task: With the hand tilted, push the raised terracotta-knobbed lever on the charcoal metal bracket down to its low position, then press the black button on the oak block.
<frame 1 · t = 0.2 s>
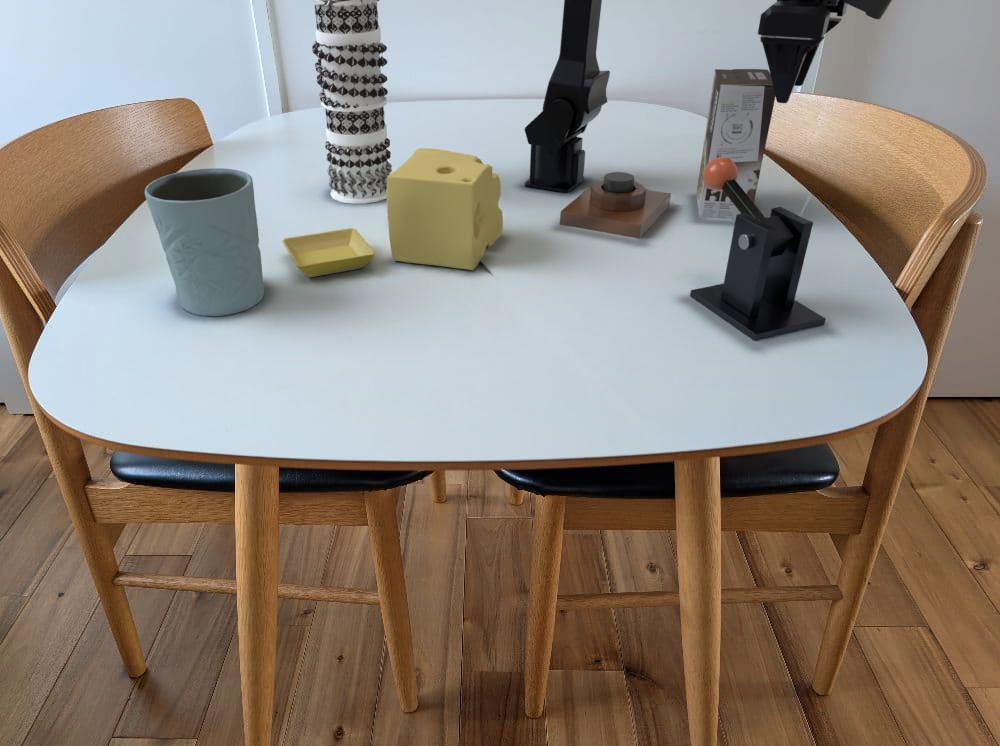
hand: (790, 93, 91), 15 cm above the table, tool pointing down, fingers open, 9 cm apart
bracket: (753, 314, 78), on the table
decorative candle: (361, 194, 109), on the table
button: (618, 183, 97), point 4 cm above the table, slide at 0.1 cm
coffee box: (721, 211, 102), on the table
button block: (615, 219, 100), on the table
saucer: (329, 264, 90), on the table
cheese: (446, 252, 92), on the table
grey green cup: (221, 298, 83), on the table
lever: (744, 204, 76), point 10 cm above the table, hinge at 22.0°
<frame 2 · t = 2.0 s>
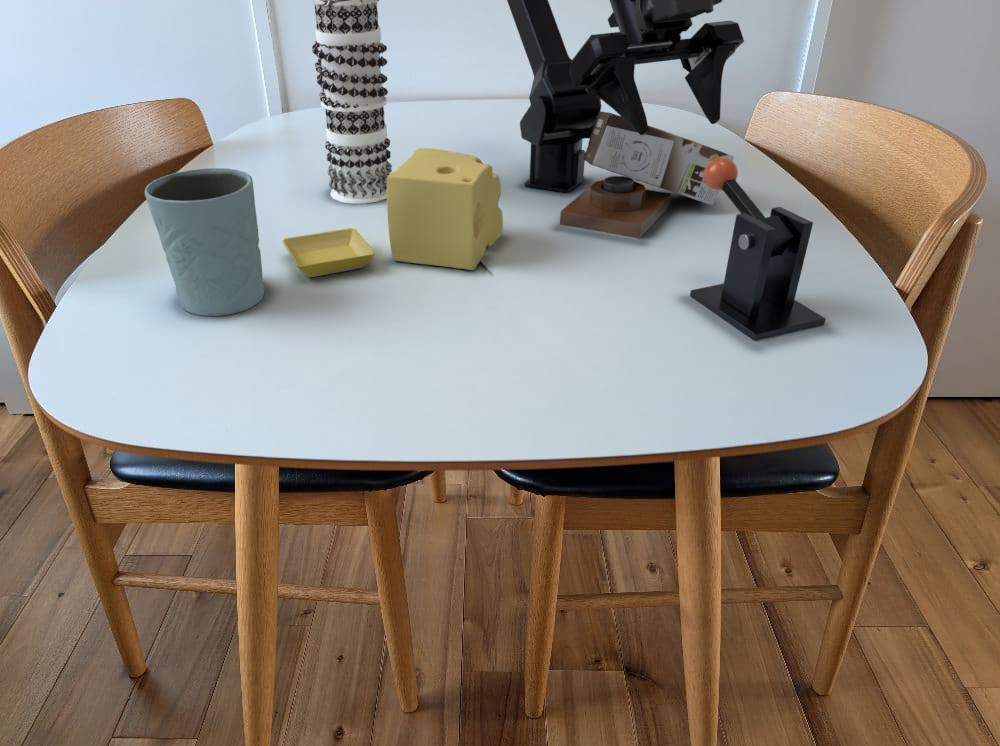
hand: (681, 127, 85), 13 cm above the table, tool tilted 40°, fingers open, 9 cm apart
button: (618, 187, 97), point 4 cm above the table, slide at -0.4 cm, touching coffee box
coffee box: (715, 177, 101), point 4 cm above the table, touching button
everything else where it was.
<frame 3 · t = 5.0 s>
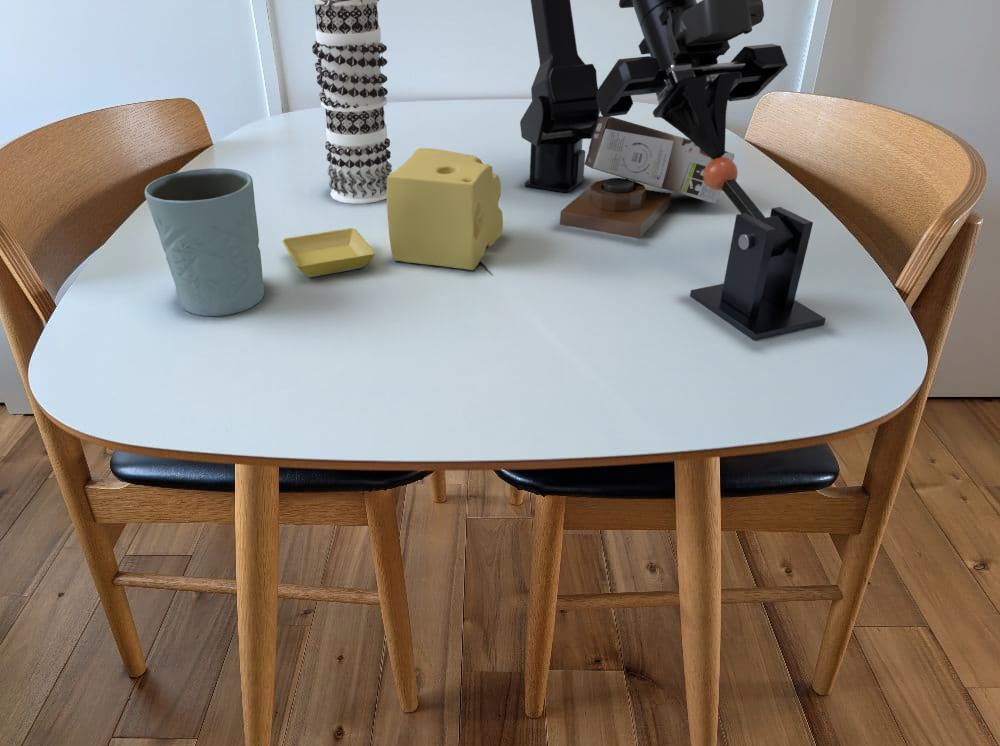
hand: (718, 156, 78), 13 cm above the table, tool tilted 45°, fingers closed, pressing on lever
coffee box: (717, 176, 101), point 4 cm above the table, touching arm, button, button block
lever: (743, 204, 76), point 10 cm above the table, hinge at 21.9°, touching gripper
everything else where it was.
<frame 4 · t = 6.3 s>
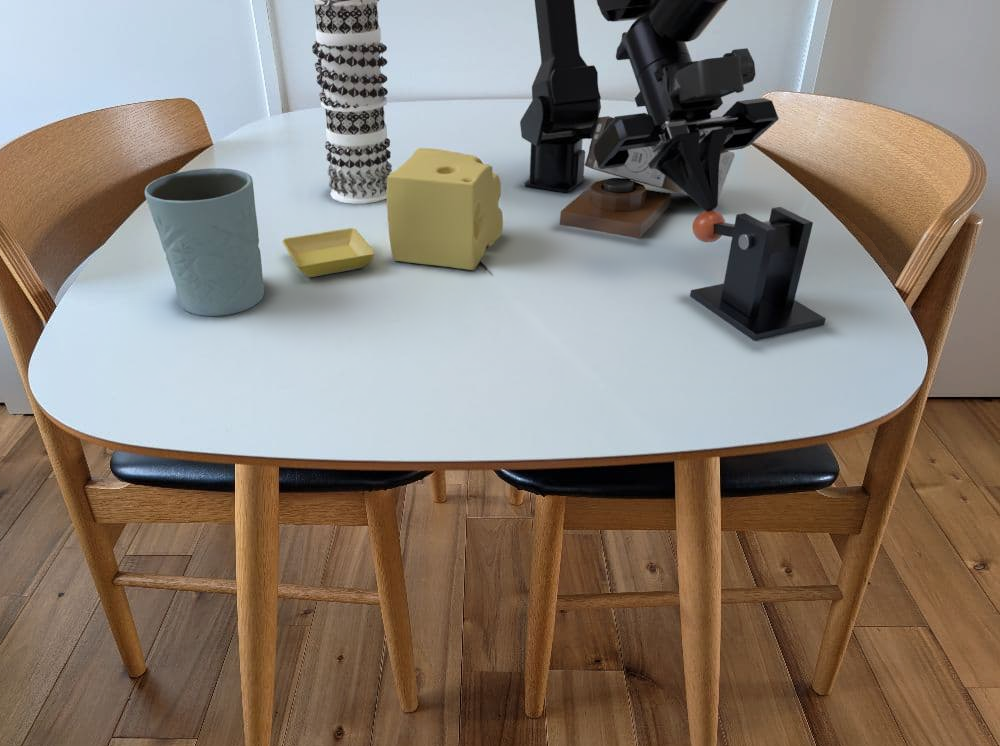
hand: (711, 208, 81), 8 cm above the table, tool tilted 45°, fingers closed, pressing on lever
coffee box: (718, 175, 101), point 4 cm above the table, touching arm, button
lever: (737, 231, 78), point 7 cm above the table, hinge at -13.6°, touching gripper
everything else where it was.
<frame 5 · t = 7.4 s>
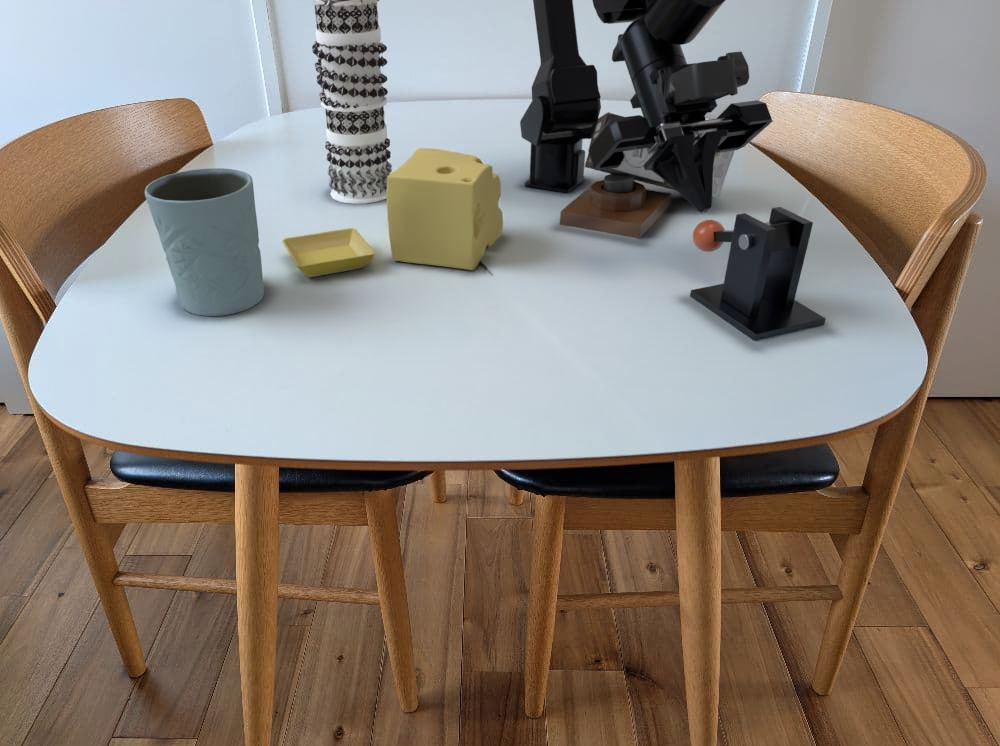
hand: (706, 210, 82), 7 cm above the table, tool tilted 45°, fingers closed
button: (618, 185, 97), point 4 cm above the table, slide at -0.1 cm, touching coffee box
coffee box: (718, 173, 101), point 4 cm above the table, touching button
lever: (737, 236, 78), point 6 cm above the table, hinge at -19.6°
everything else where it was.
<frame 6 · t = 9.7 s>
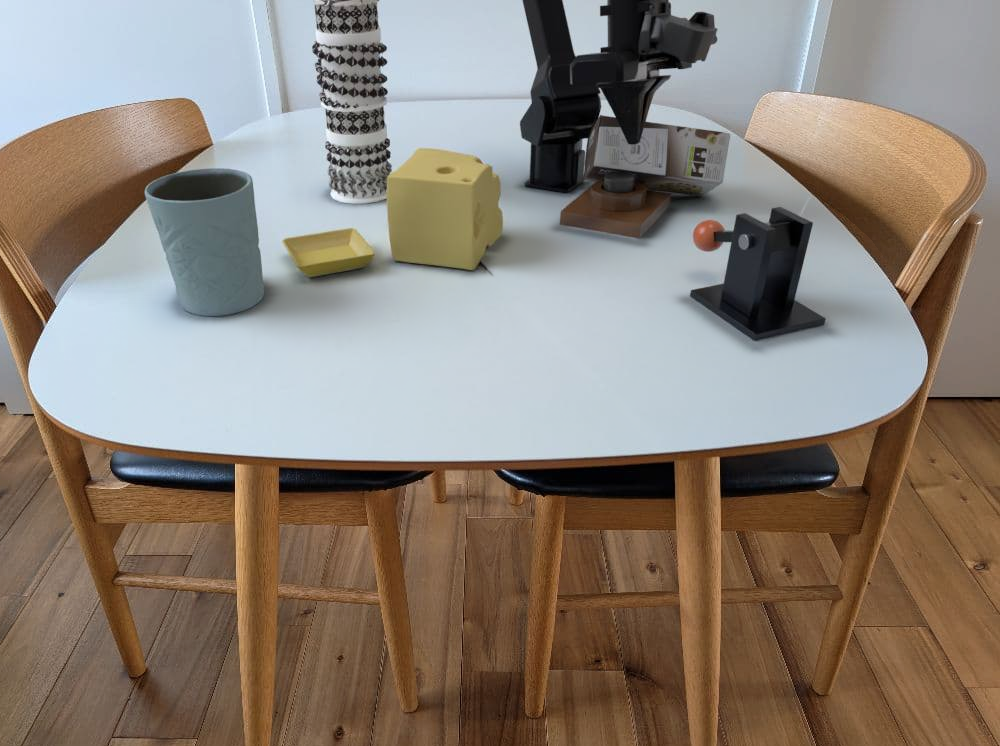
hand: (633, 144, 92), 10 cm above the table, tool pointing down, fingers closed
coffee box: (717, 166, 102), point 5 cm above the table, touching button, button block
everything else where it was.
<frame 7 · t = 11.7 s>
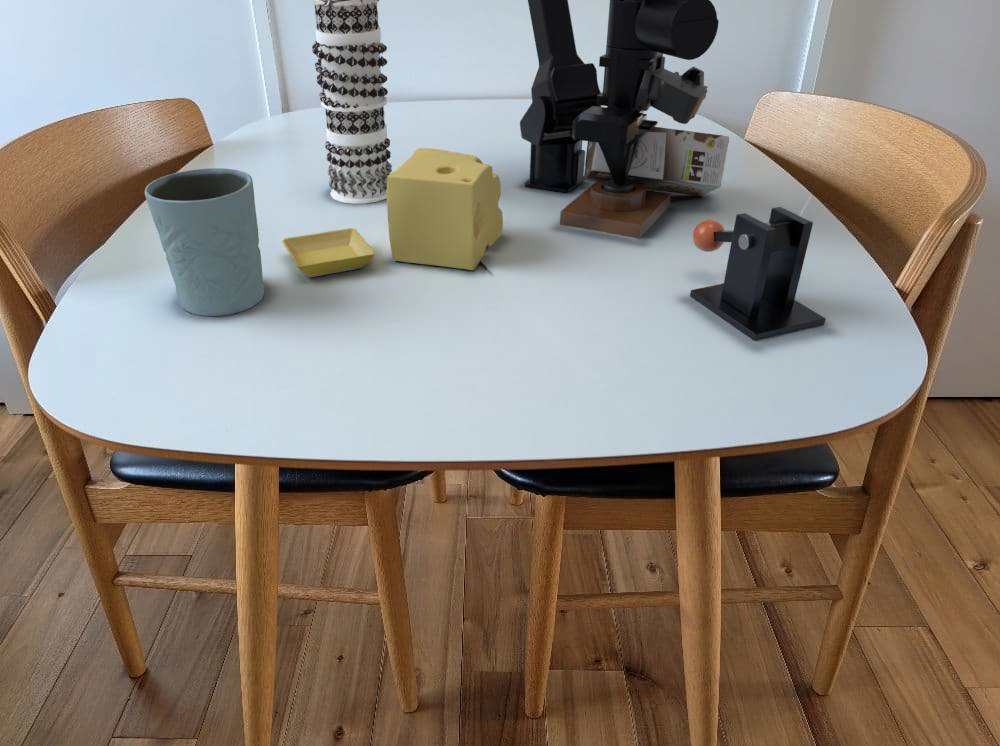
hand: (619, 184, 97), 4 cm above the table, tool pointing down, fingers closed, pressing on button
button: (618, 191, 98), point 4 cm above the table, slide at -0.8 cm, touching gripper
coffee box: (717, 167, 101), point 5 cm above the table, touching button block, gripper
everything else where it was.
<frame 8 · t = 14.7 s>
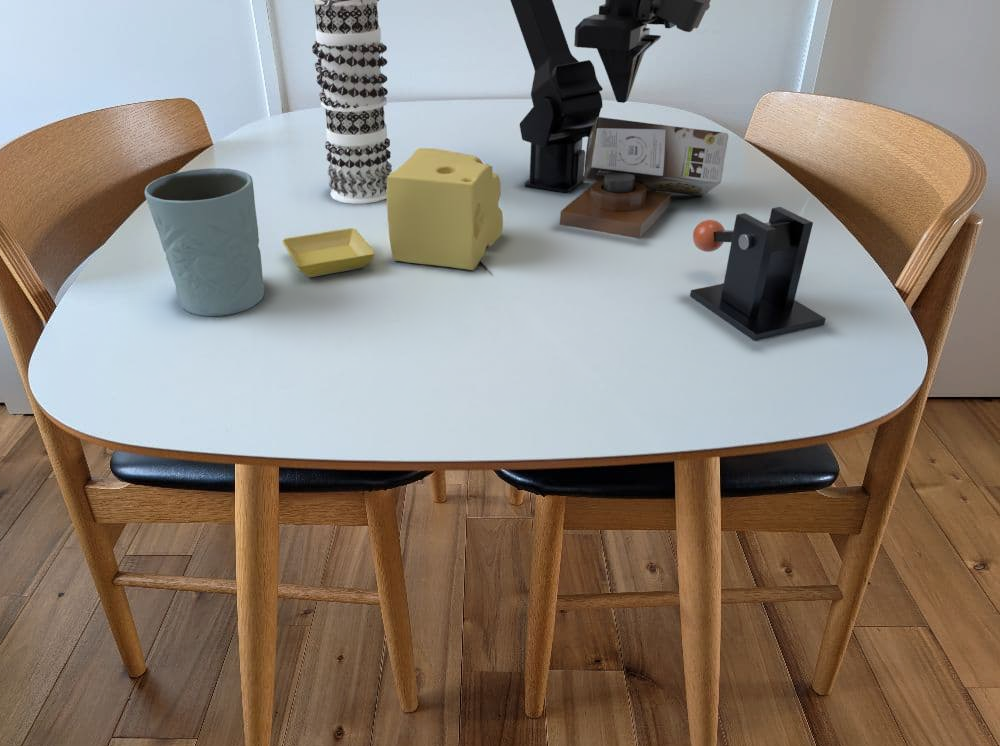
hand: (622, 101, 96), 13 cm above the table, tool pointing down, fingers closed
button: (618, 183, 97), point 4 cm above the table, slide at 0.1 cm, touching coffee box
coffee box: (716, 166, 102), point 5 cm above the table, touching button, button block
everything else where it was.
at the end: lever at -20° (first picture: +22°); button pushed in 0.8 cm at the most during the clip, back to where it started at the end; button slide at 0.1 cm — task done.
